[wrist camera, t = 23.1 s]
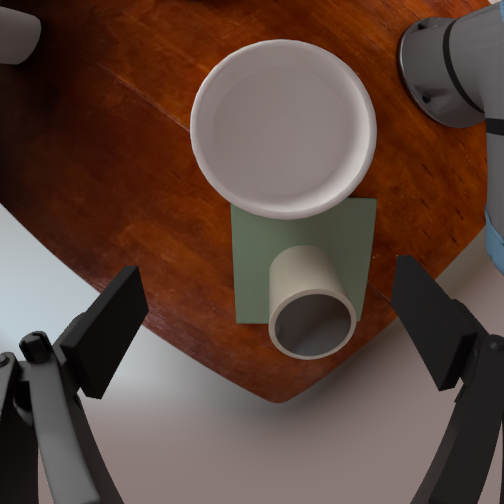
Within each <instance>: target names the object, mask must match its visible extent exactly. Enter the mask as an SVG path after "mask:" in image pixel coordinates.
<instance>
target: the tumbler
mask: <svg viewBox="0 0 504 504" xmlns="http://www.w3.org/2000/svg"><path fill="white" fill-rule="evenodd" d="M268 316H269V334H270V338H271V340H272V342H273V343H274V345H275V346H276V347H277V348H278V349H279V350H280V351H281V352H283V353H284V354H286V355H288V356H291V357H294V358H298V359H318V358H322V357H325V356H328V355H330V354H332V353H334V352H336V351H338V350H339V349H340V348H342V347H343V346H344V345H345V344H346V343H347V342H348V341H349V339H350V338H351V336H352V335H353V332H354V330H355V327H356V312H355V309H354V306H353V304H352V302H351V299H350V297H349V295H348V293H347V290H346V288H345V286H344V284H343V281H342V279H341V277H340V275H339V273H338V270H337V268H336V266H335V264H334V262H333V260H332V258H331V257H330V256H329V255H328V254H327V253H326V252H325V251H323V250H322V249H320V248H318V247H315V246H311V245H298V246H294V247H291V248H288V249H286V250H284V251H283V252H281V253H280V254H279V255H278V256H277V257H276V258H275V259H274V261H273V262H272V264H271V266H270V269H269V272H268Z"/></svg>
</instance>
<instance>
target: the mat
mask: <svg viewBox="0 0 504 504" xmlns="http://www.w3.org/2000/svg"><path fill="white" fill-rule="evenodd" d="M376 206H377V199H376V198H354V197H346V198H345V199H344V200H343V201H341V202H340V203H339V204H337V205H335V206H334V207H332V208H330V209H328V210H326V211H324V212H322V213H319V214H316V215H313V216H310V217H307V218H299V219H291V220H284V219H270V218H266V217H262V216H258V215H254V214H251V213H249V212H247V211H245V210H243V209H241V208H239V207H236V206H235V205H234V204H232V203H231V222H232V245H233V266H234V285H235V304H236V322H237V323H269V316H268V272H269V269H270V266H271V264H272V262H273V261H274V259H275V258H276V257H277V256H278V255H279V254H280V253H281V252H283V251H284V250H286V249H288V248H291V247H294V246H298V245H311V246H315V247H318V248H320V249H322V250H323V251H325V252H326V253H327V254H328V255H329V256H330V257H331V258H332V260H333V262H334V264H335V266H336V268H337V270H338V273H339V275H340V277H341V279H342V281H343V284H344V286H345V288H346V290H347V293H348V295H349V297H350V299H351V302H352V304H353V306H354V309H355V312H356V321H360V318H361V313H362V308H363V302H364V296H365V291H366V285H367V278H368V272H369V265H370V258H371V251H372V243H373V235H374V226H375V216H376Z"/></svg>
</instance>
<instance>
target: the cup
mask: <svg viewBox="0 0 504 504" xmlns="http://www.w3.org/2000/svg"><path fill="white" fill-rule="evenodd" d="M40 32H41V24H40V20H39V19H38V18H36V17H35V16H33V15H29V14H26V13H23V12H19V11H16V10H12V9H8V8H4V7H0V63H4V64H19V63H21V62H23V61H24V60H26V59H27V58H28V56H29V55H30V54H31V53H32V52H33V51H34V48H35V46H36V45H37V43H38V41H39V37H40Z"/></svg>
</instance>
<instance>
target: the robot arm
mask: <svg viewBox="0 0 504 504" xmlns="http://www.w3.org/2000/svg"><path fill="white" fill-rule="evenodd" d="M396 63H397V70H398V74H399V77H400V80H401V83H402V85H403V88H404V90H405V91H406V93H407V95H408V97H409V98H410V100H411V101H412V102H413V104H414V105H415V106H416V107H417V108H418V110H419V111H420V112H421V113H423V114H424V115H425V116H426V117H428V118H429V119H430V120H432V121H434V122H436V123H438V124H440V125H443V126H446V127H454V128H467V127H470V126H473V125H476V124H478V123H480V122H482V121H484V120H485V122H486V138H487V163H488V185H487V204H486V205H485V217H486V235H485V244H486V250H487V253H488V255H489V257H490V259H491V260H492V261H493V262H494V265H495V267H496V268H497V269H498V270H499V271H500V272H501V273H502V274H503V275H504V0H502V1H500V2H498V3H495V4H492V5H489V6H487V7H484V8H482V9H479V10H477V11H474V12H472V13H470V14H467V15H465V16H463V17H461V18H458V19H454V18H441V17H429V18H424V19H421V20H419V21H417V22H415V23H413V24H412V25H410V26H409V27H408V28H407V29H406V30H405V31H404V32H403V33H402V35H401V37H400V39H399V42H398V45H397V51H396ZM390 303H391V304H392V306H393V308H394V310H395V311H396V313H397V315H398V316H399V318H400V320H401V321H402V323H403V325H404V327H405V328H406V330H407V332H408V334H409V336H410V337H411V339H412V341H413V343H414V344H415V346H416V348H417V350H418V352H419V354H420V355H421V357H422V359H423V361H424V363H425V365H426V367H427V369H428V370H429V372H430V374H431V376H432V378H433V380H434V382H435V384H436V386H437V388H438V390H439V391H443V390H447V389H451V388H455V386H456V384H457V381H458V379H459V377H461V379H462V381H463V383H464V384H463V386H462V388H461V390H460V392H459V394H458V396H457V397H456V399H455V401H454V402H456V405H455V408H454V411H453V413H452V416H451V419H450V421H449V424H448V426H447V429H446V431H445V434H444V437H443V439H442V441H441V444H440V446H439V448H438V450H437V452H436V455H435V457H434V459H433V461H432V463H431V465H430V468H429V469H428V472H427V473H426V475H425V478H424V479H423V481H422V483H421V485H420V487H419V489H418V491H417V492H416V494H415V496H414V498H413V500H412V501H411V503H410V504H477V503H478V500H479V498H480V495H481V492H482V489H483V487H484V484H485V481H486V478H487V475H488V472H489V469H490V465H491V462H492V458H493V455H494V451H495V447H496V443H497V439H498V435H499V431H500V426H501V421H502V431H503V462H502V483H501V493H500V503H499V504H504V338H503V337H501V336H499V335H494V334H492V335H489V333H488V332H487V331H486V330H485V329H484V327H483V326H482V325H481V324H480V323H479V322H478V320H477V319H476V318H474V315H473V314H472V313H470V311H469V310H468V308H467V307H466V306H465V305H464V304H463V303H461V302H459V301H458V300H456V299H452V300H451V299H450V298H449V296H448V295H447V294H446V293H445V292H444V291H443V290H442V288H441V287H440V286H439V285H438V284H437V283H436V282H435V281H434V279H433V278H432V277H431V276H430V275H429V274H428V273H427V272H426V271H425V270H424V269H423V267H422V266H421V265H420V264H419V263H418V262H417V261H416V260H415V259H414V258H413V257H412V256H411V255H400V256H397V264H396V271H395V278H394V284H393V290H392V296H391V302H390ZM148 312H149V309H148V305H147V301H146V297H145V293H144V289H143V285H142V281H141V277H140V272H139V268H138V266H125V267H124V268H123V269H122V270H121V271H120V272H119V273H118V275H117V276H116V277H115V278H114V279H113V280H112V281H111V283H110V284H109V285H108V286H107V287H106V288H105V289H104V291H103V292H102V293H101V294H100V295H99V297H98V298H97V299H96V300H95V301H94V302H93V304H92V305H91V306H90V307H89V308H88V310H87V311H86V312H84V313H81V314H80V315H78V316H77V317H75V318H74V319H73V320H72V322H71V323H70V324H69V326H67V328H66V329H65V330H64V332H63V333H62V334H61V335H60V336H59V338H58V339H57V340H56V341H55V343H54V344H53V345H51V343H50V341H49V339H48V337H47V335H46V333H45V332H43V331H35V332H32V333H30V334H28V335H26V336H25V337H24V338H22V340H21V341H20V343H19V347H20V349H21V351H22V353H23V355H24V357H25V358H26V360H27V361H17V359H16V357H15V355H14V354H13V353H11V352H5V353H1V354H0V504H39V502H38V501H39V500H38V445H39V449H40V454H41V458H42V462H43V466H44V470H45V474H46V477H47V481H48V484H49V488H50V491H51V494H52V497H53V500H54V503H55V504H124V502H123V501H122V498H121V497H120V495H119V493H118V491H117V489H116V487H115V485H114V483H113V481H112V479H111V476H110V474H109V472H108V470H107V468H106V466H105V463H104V461H103V459H102V457H101V454H100V452H99V449H98V447H97V445H96V442H95V440H94V437H93V435H92V432H91V429H90V427H89V424H88V421H87V418H86V415H85V413H84V409H83V407H82V404H81V400H80V398H79V396H78V395H77V392H78V390H79V388H80V387H81V389H82V390H83V392H84V394H85V395H86V397H91V398H96V399H102V397H103V395H104V393H105V391H106V389H107V387H108V385H109V383H110V381H111V379H112V377H113V375H114V373H115V371H116V369H117V368H118V366H119V364H120V362H121V360H122V358H123V356H124V355H125V353H126V351H127V349H128V347H129V346H130V344H131V342H132V340H133V338H134V337H135V335H136V333H137V331H138V329H139V327H140V326H141V324H142V322H143V321H144V319H145V317H146V315H147V314H148ZM13 402H14V403H13Z"/></svg>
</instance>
